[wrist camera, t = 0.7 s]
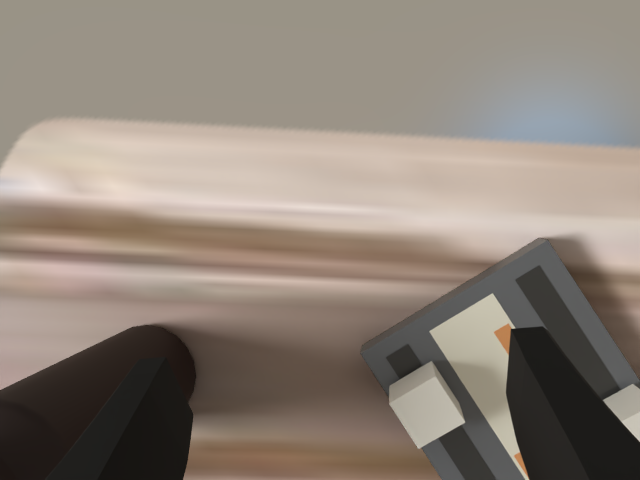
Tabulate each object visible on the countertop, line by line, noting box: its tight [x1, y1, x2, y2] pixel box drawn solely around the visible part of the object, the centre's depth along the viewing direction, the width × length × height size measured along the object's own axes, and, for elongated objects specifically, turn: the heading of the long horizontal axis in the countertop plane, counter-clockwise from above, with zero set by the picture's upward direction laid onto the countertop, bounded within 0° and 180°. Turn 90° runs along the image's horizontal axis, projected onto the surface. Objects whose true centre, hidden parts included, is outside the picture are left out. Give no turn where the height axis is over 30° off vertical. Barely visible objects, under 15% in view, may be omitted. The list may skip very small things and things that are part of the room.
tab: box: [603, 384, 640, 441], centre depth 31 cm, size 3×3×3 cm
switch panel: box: [360, 238, 640, 480], centre depth 34 cm, size 14×13×2 cm
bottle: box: [0, 325, 196, 480], centre depth 29 cm, size 7×7×20 cm
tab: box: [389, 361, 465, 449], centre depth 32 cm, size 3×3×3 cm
